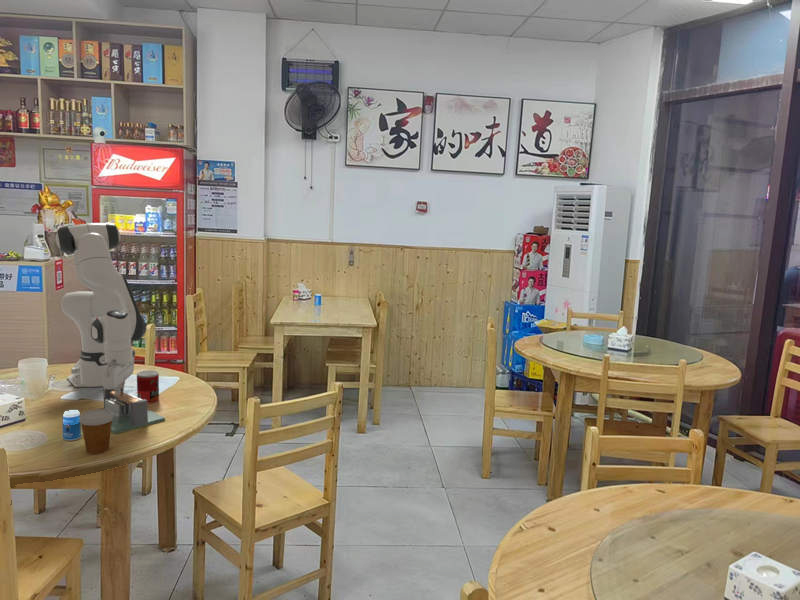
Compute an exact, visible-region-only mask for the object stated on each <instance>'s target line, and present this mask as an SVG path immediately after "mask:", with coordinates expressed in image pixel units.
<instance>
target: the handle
mask: <svg viewBox="0 0 800 600" xmlns="http://www.w3.org/2000/svg"><path fill="white" fill-rule="evenodd" d="M109 393H110V394H112V395H114V396H115V397H117V398H119V399H121V400H123V401H125V402H127V403H129V404H131V402H135V401H139V400H137V399H135V398H133V397H131V396H129V395H128V394H129V393H128V394H127V393H125V392H123V393H121V395H119V396H116V395H115V390H113V391H109Z"/></svg>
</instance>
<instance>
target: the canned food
mask: <svg viewBox="0 0 800 600" xmlns="http://www.w3.org/2000/svg"><path fill="white" fill-rule="evenodd" d="M159 376H160V375H159V372H158V371H156V370H142V371H139V372H137V373H136V389H137V392H136V397H137V398H140V399H142V400H144V399H145V400H147V404H151V403H152V404H153V403H156V402H158V401H159V398H160V382H159V381H160V380H159V379H160V377H159Z"/></svg>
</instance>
